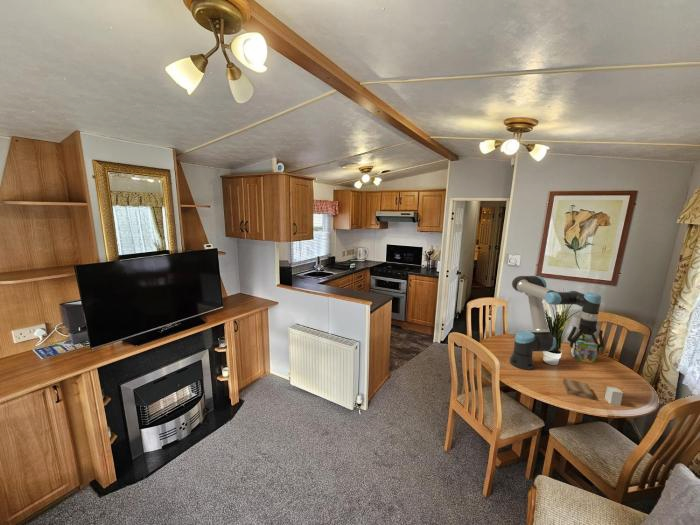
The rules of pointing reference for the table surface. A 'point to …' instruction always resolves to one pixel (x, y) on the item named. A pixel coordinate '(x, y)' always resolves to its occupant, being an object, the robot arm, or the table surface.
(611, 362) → the table surface
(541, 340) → the robot arm
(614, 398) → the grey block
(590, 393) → the walnut block
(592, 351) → the chalk box
